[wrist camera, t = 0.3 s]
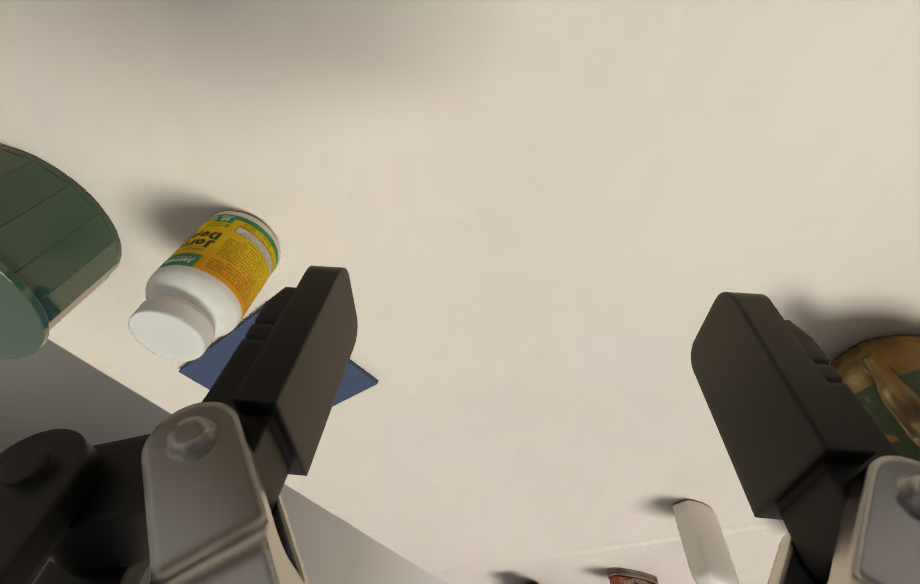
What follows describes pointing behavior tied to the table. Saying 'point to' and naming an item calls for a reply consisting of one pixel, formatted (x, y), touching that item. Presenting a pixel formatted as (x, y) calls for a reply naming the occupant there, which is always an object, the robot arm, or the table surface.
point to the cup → (888, 387)
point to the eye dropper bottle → (704, 544)
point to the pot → (53, 233)
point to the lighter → (629, 577)
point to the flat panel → (221, 351)
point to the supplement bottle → (205, 286)
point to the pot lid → (19, 318)
